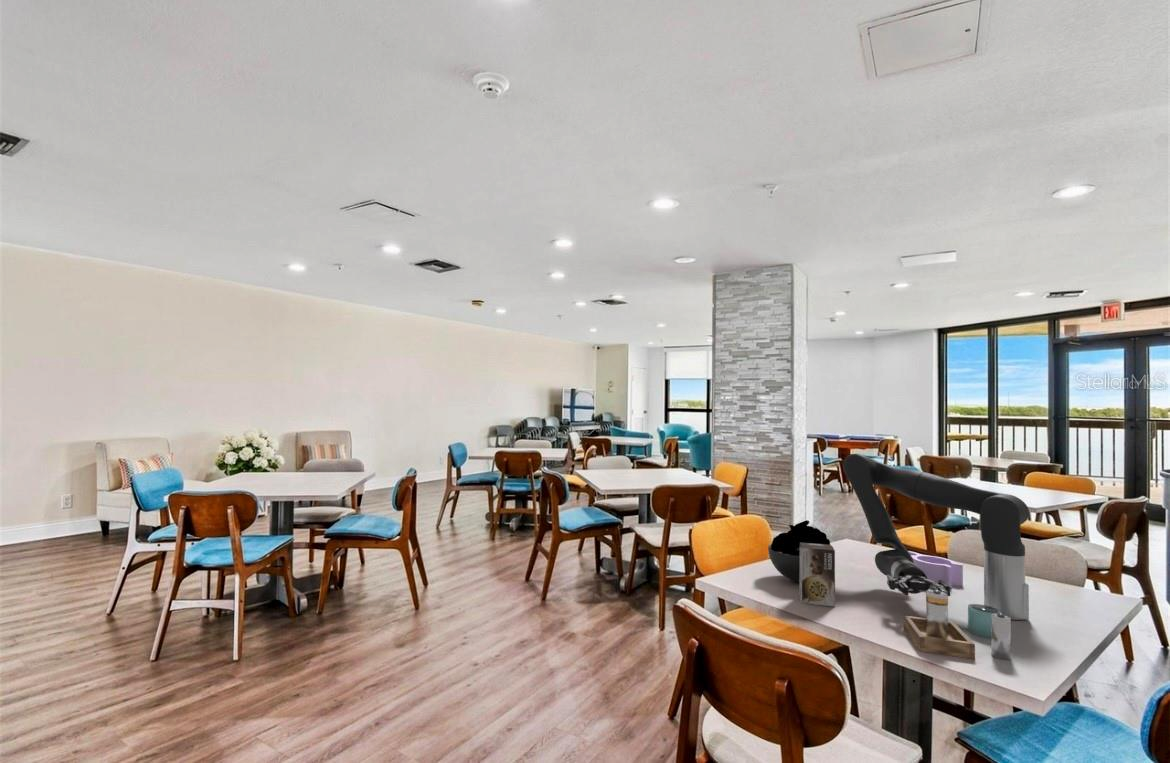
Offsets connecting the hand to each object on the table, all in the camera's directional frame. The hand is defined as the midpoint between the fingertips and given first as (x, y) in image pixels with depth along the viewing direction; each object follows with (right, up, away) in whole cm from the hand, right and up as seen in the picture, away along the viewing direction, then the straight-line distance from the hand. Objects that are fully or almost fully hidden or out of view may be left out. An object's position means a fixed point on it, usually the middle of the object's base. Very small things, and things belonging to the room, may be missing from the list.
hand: (925, 593), depth 142 cm
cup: (+14, -9, -2) cm, 17 cm away
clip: (+28, -12, +44) cm, 54 cm away
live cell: (-3, -7, -10) cm, 13 cm away
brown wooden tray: (-3, -8, -10) cm, 13 cm away
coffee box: (-21, -9, +17) cm, 29 cm away
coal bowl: (-19, -10, +36) cm, 41 cm away
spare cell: (+7, -8, -16) cm, 20 cm away
